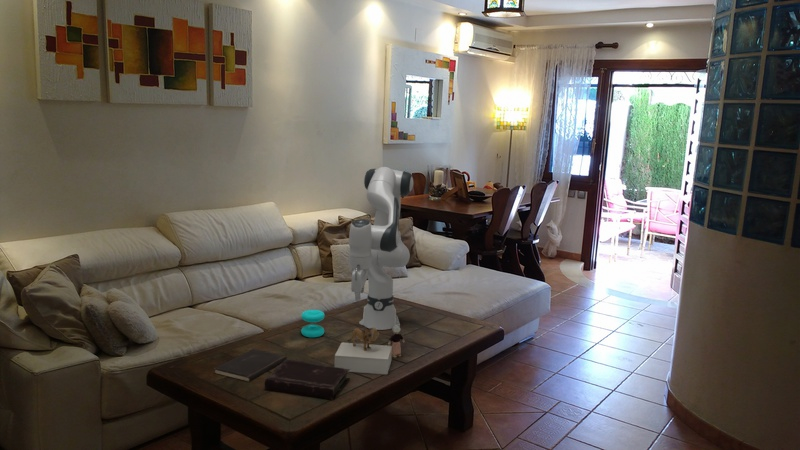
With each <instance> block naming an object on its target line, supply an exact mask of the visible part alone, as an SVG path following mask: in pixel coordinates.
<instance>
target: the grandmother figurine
mask: <svg viewBox="0 0 800 450" xmlns="http://www.w3.org/2000/svg"><path fill="white" fill-rule="evenodd" d="M391 330H392V333H393V335H391V336H390V338H389V339H388V342H387V346H392V358H397V357H402V354H401V353H402V349H401V343H403V344H404V343H405V342H406V341H405V339H404V336H403V335H402V334H400V332H401V331H402V330H401V326H400V327H399V326H397V325H395V326H394V327H393V328H391ZM391 343H392V345H391Z"/></svg>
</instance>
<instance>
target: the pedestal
mask: <svg viewBox="0 0 800 450" xmlns="http://www.w3.org/2000/svg"><path fill="white" fill-rule="evenodd" d="M355 345H356V346H353V342H344V341H343V342H341V343H340V345H339V346H338V349H337V351H336V352H335V354H334V367H337V368H344V369H350V370H349V371H348V372H347V373H360V374H361V373H363V374H372V375H375V374H376V375H388V374H389V369H390V367H391V362H392V358H393V357H392V345H387V344H386V345H383V344H382V345H381V344H373V343H370V344H369V347H371V348H370V349H368V348H367V343H366V348H367V351H364V344H363V343H355Z"/></svg>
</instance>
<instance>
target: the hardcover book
mask: <svg viewBox="0 0 800 450" xmlns="http://www.w3.org/2000/svg"><path fill="white" fill-rule="evenodd" d="M286 359H287V360H288V357H287V356H286V355H283V354H280V353H279V354H278V353H274V352H269V351H264V350H261V349H257V348H252V349H251V350H248V351H246V352H244V353H242V354H240V355H238V356H237V357H236V356H235V358H233V359H231V360H229V361H226V362H224V363H222V364H220V365H218V366H216V367H214V368H213V370H215V371H214V373H215V374H217V375H222V376H226V377H230V378H234V379H236V380H241V381H245V382H248V383H251V382H252V381H253V380H255V379H257V378H258V377H261V376H263V375H264V374H266V373H268V372H269V371H271V370H274V369H276V368H277V367H278V366H279V365H280V364H281V363H283V362H284V361H285V360H286Z"/></svg>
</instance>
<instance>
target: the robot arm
mask: <svg viewBox="0 0 800 450" xmlns="http://www.w3.org/2000/svg"><path fill="white" fill-rule="evenodd" d="M363 185H364V188H365V189H366V199H367V201H368V203H369V204H370V205H371V206H372V207H374V209H375V215H374V222H373V225H372V223H371V221H370V220H368V219H362V218H359V219H355V220H353V221H351V223H350V226H349V233H348V235H349V236H348V244H349V251H348V267H349V268H350V269H351V271H352V273H351V287H350V289H351V292H352V293H354V300H355V301H357V302H360V301H361V294H364V292H365V284H366V282H367V283H368V294H367V296H366V297H367V298H366V301H367V304H366V305H364V306H363V315H362V319H361V320H359V323H358V324H359V325H361V326H364V327H365V328H367V329H370V328H376V330H377V331H383V330H392V329H393V327H394V326H395V325H397V326H399V327H400V328H401V323H400V319H399V317H398V315H397V309H396V307H395V305H394V302H395V301H394V300H395V298H394V295H393V293H394V291H393V290H394V280H393V278H392V276H391V275H390V274H388V273H387V272H386V271H385V270H384V268H383V267H386V268H393V269H395V268H397V269H398V268H404V267H406V266H407V264H408V263H409V261H410V258H411V257H410V256H411V255H410V250H409V248H408V247H407V245H405V244H404V242H403V241H402V238H401V235H400V230H399V227H400V226H399V225H400V215H401V205H402V204H401V203H402V202H401V200H402V199H404V198H405V197H406V196H408V195H409V194H410V193H411V192H412V189H414V178H413V174H412V173H411V172H408V171H406V170H405V171H402V170H397V169H392V168H390V167H388V166H381V167H378V168H371V169H368V170H367V171H366V172H365V175H364V178H363ZM367 279H368V280H367Z"/></svg>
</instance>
